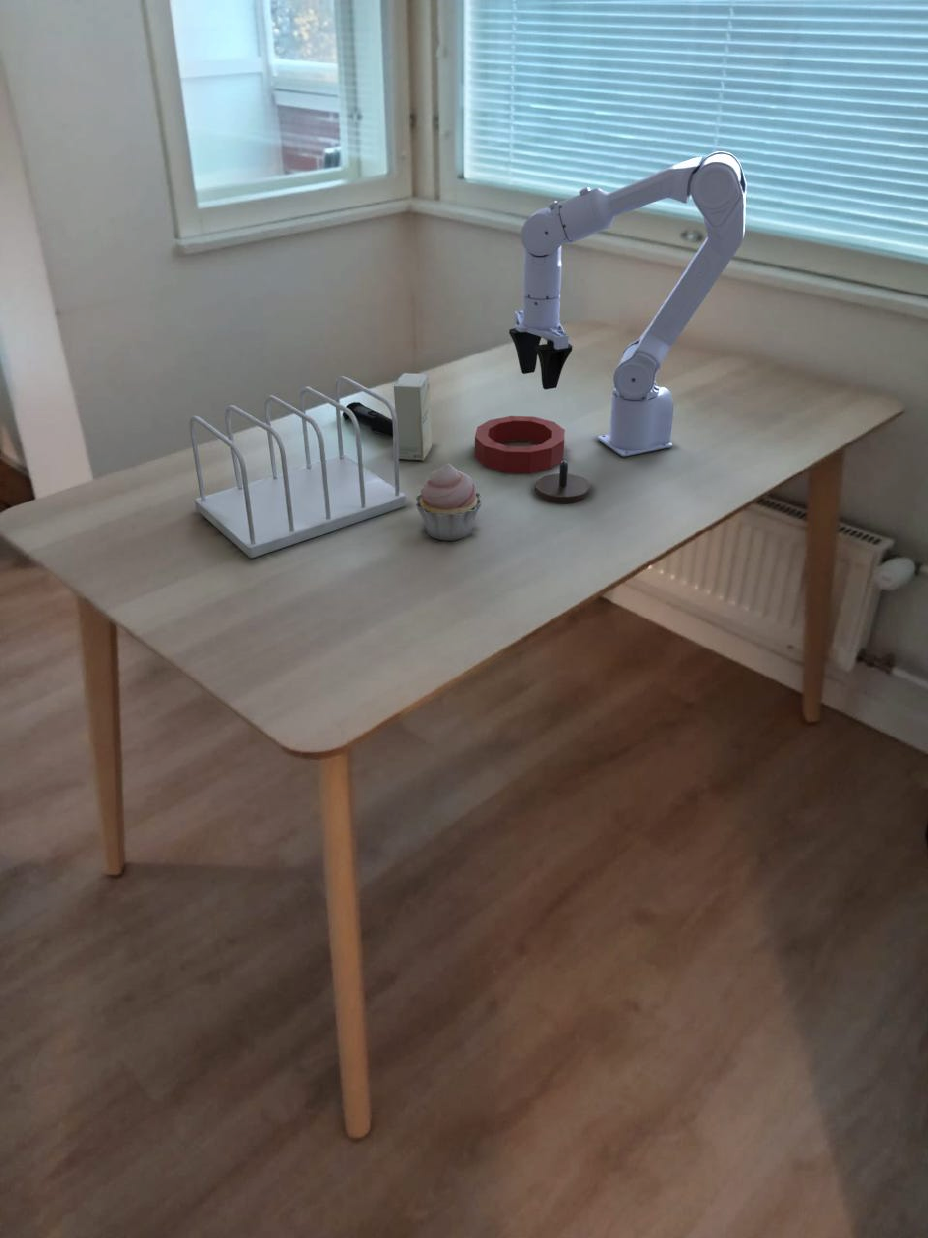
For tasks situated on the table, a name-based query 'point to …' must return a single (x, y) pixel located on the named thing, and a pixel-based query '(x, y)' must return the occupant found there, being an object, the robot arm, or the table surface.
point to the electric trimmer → (371, 418)
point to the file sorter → (297, 485)
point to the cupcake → (448, 504)
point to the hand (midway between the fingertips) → (538, 380)
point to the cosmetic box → (413, 416)
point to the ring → (515, 456)
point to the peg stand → (562, 486)
